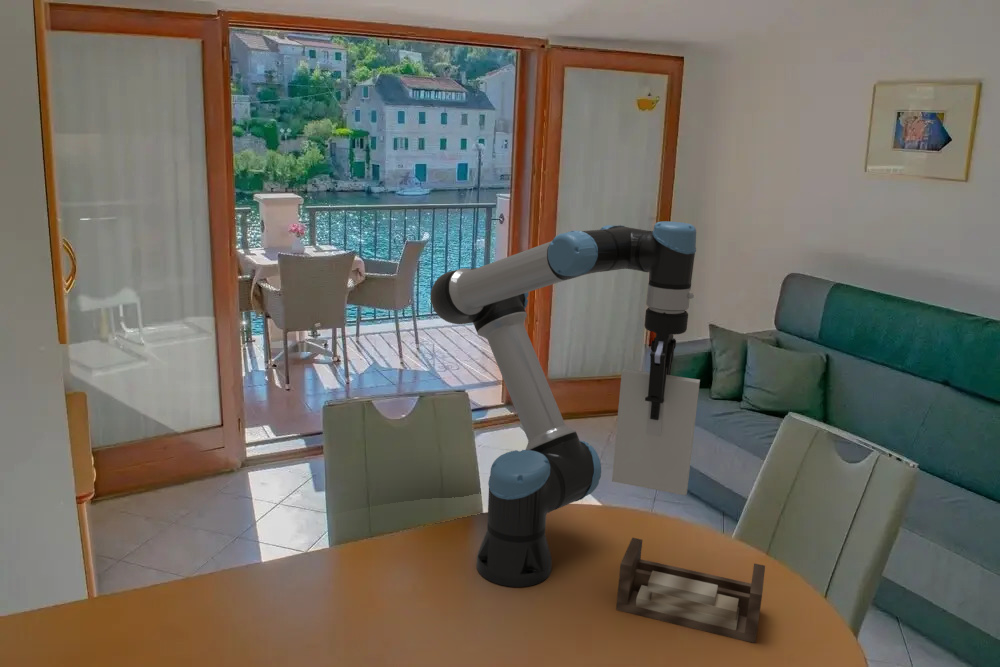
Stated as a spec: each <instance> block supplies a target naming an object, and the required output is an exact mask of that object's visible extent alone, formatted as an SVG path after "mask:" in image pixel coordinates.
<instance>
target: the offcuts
mask: <svg viewBox="0 0 1000 667" xmlns="http://www.w3.org/2000/svg"><path fill="white" fill-rule="evenodd" d="M717 588H718V585H715V584H711V583H706V582H702V581H697V580H693V579H688V578H684V577H679V576H675V575H670V574H666V573H661V572H657V571H652V573H651V576H650V579H649V581H648V586H644V585H641V587H640V590H639V593H638V595H637V598H636V607H640V608H644V609H649V610H653V611H657V612H661V613H665V614H669V615H674V616H678V617H682V618H686V619H690V620H695V621H699V622H703V623H707V624H711V625H715V626H720V627H724V628H728V629H732V630H736V627H737V620H738V614H739V607H738V601H739V599H738V598H734V597H730V596H725V595H721V594H717Z"/></svg>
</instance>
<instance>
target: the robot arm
mask: <svg viewBox="0 0 1000 667" xmlns="http://www.w3.org/2000/svg"><path fill="white" fill-rule="evenodd" d="M696 244H697V229H696V227H695V226H694V224H691V223H689V222H688V223H686V222H679V221H668V220H667V221H666V220H664V221H663V220H662V221H658V222H655V224H654V226H653V229H652V230H648V229H647V230H646V229H642V228H641V229H640V228H634V227H628V226H625V225H621V224H619V225H610V224H607V225H603V226H602V227H601V228H600V229H595V230H594V229H593V230H591V229H590V230H571V231H568V232H567V231H566V232H562V233H559V234H557V235H556V236H555V237H553V239H552V240H551V241H548V242H546V243H542V244H540V245H537V246H535V247H532V248H528V249H526V250H524V251H521V252H518V253H515V254H512V255H509V256H507V257H503V258H501V259H498V260H496V261H493V262H490V263H487V264H485V265H483V266H480V267H472V268H471V267H470V268H468V267H467V268H466V267H463V268H459V269H455V270H450V271H447V272H445V273H443V274H441V275H440V276H438V278H437V279H436V280H435V281H434V283H433V285H432V287H431V292H430V302H431V306H432V308H433V311H434V312H435V313H436V314H437V316H438V317H440V319H441V320H443V321H445V322H447V323H449V324H453V325H467V324H473V326H474V329H475V331H476V333H477V335H478V336H479V337H483V338H484V339H486V340H487V342H488V345H489V347H490V350H491V353H492V354H493V357H494V360H495V362H496V364H497V367H498V370H499V372H500V375H501V376H502V378H503V381H504V384H505V386H506V388H507V391H508V393H509V396H510V399H511V402H512V404H513V406H514V409H515V411H516V414H517V416H518V418H519V421H520V423H521V426H522V428H523V431H524V433H525V436H526V438H527V444H526V448H525V449H522V450H517V449H515V450H511V451H509V452H505V453H503V454H501V455H499V456H498V457H497V458H496V459H495V460H494V461H493V462H492V465H491V467H490V473H489V477H488V483H487V484H488V500H487V525H486V526H487V527H486V531H485V532H486V533H485V535H484V536H483V540H482V542H481V544H480V547H479V549H478V551H477V555H476V569H477V571H478V573H479V574H480V575H481V576H482V578H484V579H486V580H488V581H490V582H492V583H494V584H496V585H497V584H498V585H499V586H504V587H505V586H506V587H514V588H523V587H531V586H534V585H537V584H540V583H543V582H544V581H546V580H547V579H548V578H549V577H550V575H551V573H552V564H553V563H552V562H553V561H552V556H551V554H552V553H551V551H550V548H549V544H548V540H547V537H546V522H547V514H548V513H550V512H553V511H556V510H558V509H560V508H563V507H565V506H568V505H570V504H572V503H574V502H579V501H581V500H583V499H584V498H586V497H587V496H589V495H591V494H592V493H593V492H594V491H595V490H596V489H597V488H598V486H599V483H600V479H601V477H602V465H601V459H600V456H599V454H598V452H597V451H596V449H595V448H594V447H593V446H592V445H590V444H589V442H587V441H584V440H580V438H579V435H578V433H577V431H576V430H575V429H573V428H571V427H568V426H567V425H566V422H565V421H564V418H563V416H562V413H561V411H560V409H559V406H558V403H557V402H556V399H555V397H554V395H553V392H552V389H551V387H550V384H549V382H548V380H547V377H546V375H545V372H544V370H543V367H542V366H541V363H540V360H539V357H538V356H537V353H536V351H535V348H534V347H533V346H534V345H533V344H532V341H531V339H530V337H529V333H528V332H527V329H526V327H525V321H526V318H527V316H528V314H527V311H526V308H527V306H528V303H529V299H528V297H529V293H530V292H532V291H536V290H540V289H543V288H546V287H549V286H552V285H555V284H558V283H561V282H565V281H568V280H571V279H572V280H573V279H576V278H579V277H581V276H584V275H590V274H595V273H602V272H603V273H604V272H611V271H618V270H633V271H638V272H639V271H640V272H644V273H648V283H647V292H646V293H647V294H646V303H645V304H646V306H647V309H646V310H645V315H644V316H645V317H644V328H645V329H646V330H647V331H649V332H650V333H651V332H654V334H656V335H655V337H654V338H653V340H651V344H650V350H651V351H650V354H649V356H650V359H649V360H650V363H649V364H650V366H649V372H650V377H649V390H648V397H646V398H645V401H649V407H648V417H647V427H646V434H649V435H654V436H661V431H662V422H663V412H664V403H665V402H664V391H665V383H666V375H671V376H672V368H673V360H674V356H675V354H674V353H675V349H676V347H677V340H676V338H674V335H681V334H684V333H686V332H687V330H688V329H687V328H688V320H689V313H688V312H687V310H689V307H690V299H691V300H692V299H693V298H694V297H695V295H694V293H693V292H691V293H690V291H691V290H692V289H691V288H692V279H693V271H694V262H695V256H696V252H697V247H696Z"/></svg>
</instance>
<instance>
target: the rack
mask: <svg viewBox="0 0 1000 667" xmlns="http://www.w3.org/2000/svg"><path fill="white" fill-rule="evenodd" d="M642 548H643V539H642V538H635V537H631V540H630V541H629V544H628V546H627V548H626V549H625V550H626V551H625V553H624V555H623V557H622V559H621V562H620V566H619V576H618V577H619V578H618V585H617V596H616V609H615V610H616V611H621V612H624V613H628V614H633V615H637V616H641V617H644V618H649V619H653V620H656V621H657V620H658V621H660V622H661V621H662V622H666V623H669V624H674V625H678V626H682V627H686V628H690V629H695V630H699V631H703V632H707V633H710V634H715V635H719V636H723V637H727V638H730V639H731V638H732V639H736V640H740V641H743V642H748V643H752V644H756V642H757V641H756V640H757V633H758V628H759V627H758V626H759V619H760V612H761V607H762V606H761V605H762V601H763V600H762V598H763V593H764V592H763V590H764V580H765V572H766V565H763V564H759V563H753V568H752V576H751V582H745V581H741V580H737V579H731V578H728V577H723V576H718V575H714V574H710V573H705V572H700V571H696V570H691V569H687V568H683V567H682V568H681V567H677V566H674V565H668V564H666V563H665V564H664V563H660V562H655V561H650V560H646V559H643V558H641V556H642ZM652 571H657V572H661V573H666V574H670V575H675V576H679V577H684V578H688V579H693V580H697V581H702V582H706V583H711V584H715V585H718V588H717V594H721V595H725V596H730V597H734V598H738V599H739V601H738V607H739V614H738V620H737V627H736V630H732V629H728V628H724V627H720V626H715V625H711V624H707V623H703V622H699V621H695V620H690V619H686V618H682V617H678V616H674V615H669V614H665V613H661V612H657V611H653V610H649V609H644V608H640V607H636V598H637V595H638V593H639V590H640V587H641V585H644V586H648V581H649V579H650V576H651V573H652Z"/></svg>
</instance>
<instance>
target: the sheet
mask: <svg viewBox="0 0 1000 667" xmlns="http://www.w3.org/2000/svg"><path fill="white" fill-rule="evenodd" d="M620 375H621V378H620V385H619V387H620V388H619V396H618V397H619V399H618V407H617V419H616V431H615V432H616V433H615V443H614V453H613V454H614V455H613V466H612V475H611V476H612V477H611V482H614V483H618V484H623V485H629V486H634V487H639V488H645V489H650V490H655V491H660V492H661V491H662V492H665V493H666V492H667V493H671V494H676V495H681V496H687V493H688V488H689V487H688V486H689V480H690V479H689V478H690V471H691V470H690V469H691V461H692V454H693V444H694V433H695V427H696V419H697V418H696V417H697V410H698V399H699V392H700V384H701V383H700V382H701V379H697V378H692V377H691V378H689V377H684V376H683V377H682V376H677V375H672V374H671V375H666V383H665V391H664V402H665V403H664V412H663V422H662V431H661V436H654V435H649V434H646V427H647V417H648V407H649V401H645V398H646V397H648V390H649V377H650V371H642V370H636V369H628V368H623V369H622V370H621V374H620Z"/></svg>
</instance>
